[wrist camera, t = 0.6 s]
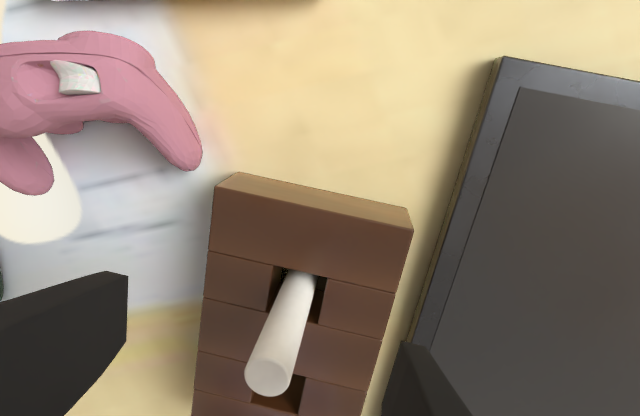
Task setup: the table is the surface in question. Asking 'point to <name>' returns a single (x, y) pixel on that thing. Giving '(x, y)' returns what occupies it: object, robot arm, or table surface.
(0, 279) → the coffee jar
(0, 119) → the pink curved piece
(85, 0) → the hard drive
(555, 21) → the table surface
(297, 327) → the white rounded rod
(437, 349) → the tablet
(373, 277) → the pen holder
